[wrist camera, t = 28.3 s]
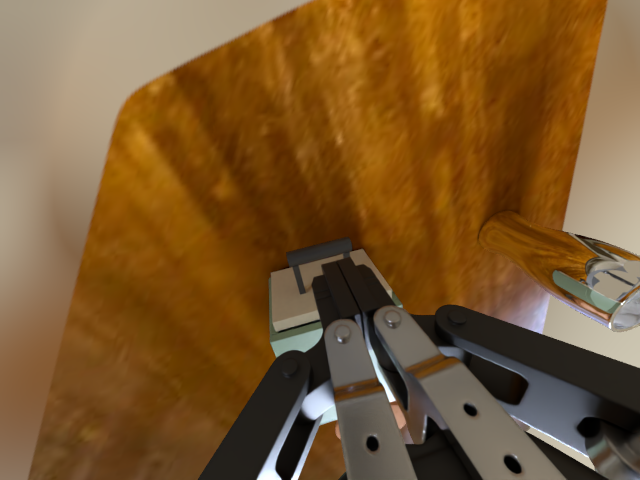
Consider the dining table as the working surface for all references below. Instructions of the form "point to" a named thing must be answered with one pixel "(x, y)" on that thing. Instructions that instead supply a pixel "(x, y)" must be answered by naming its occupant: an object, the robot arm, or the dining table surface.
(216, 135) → the dining table surface
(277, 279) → the drawer
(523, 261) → the metal cup
